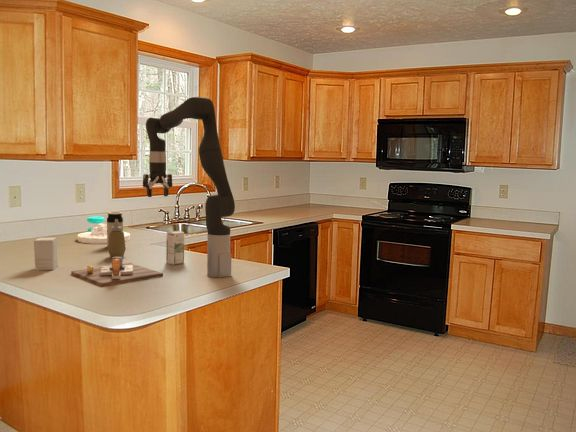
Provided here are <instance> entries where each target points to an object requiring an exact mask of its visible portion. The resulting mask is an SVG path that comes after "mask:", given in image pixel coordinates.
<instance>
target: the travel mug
mask: <svg viewBox="0 0 576 432" xmlns="http://www.w3.org/2000/svg"><path fill="white" fill-rule="evenodd" d="M115 219H118V222H119V226H120V227H122V230H121V231H123V232H124V218H123V211H109V212H107V218H106V225H107V244H106V245H107V247H108V242H109V233H110V232H111V231H112V230H111V227H114V222H115Z"/></svg>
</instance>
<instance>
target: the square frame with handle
mask: <svg viewBox="0 0 576 432" xmlns="http://www.w3.org/2000/svg"><path fill="white" fill-rule="evenodd" d="M101 267H102V269H101V272H100V275H112V279H120V277H121V275H128V274H133V265H122V270H119V259H113V270H112V265H102V266H101Z"/></svg>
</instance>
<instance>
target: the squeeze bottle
mask: <svg viewBox="0 0 576 432" xmlns="http://www.w3.org/2000/svg"><path fill="white" fill-rule="evenodd" d="M111 230H112V231H111V232H110V233H109V242H108V246H107V251H108V254H109V257H110V258H112V257H122V258H124V255H125V253H126V241H125V239H124V232H125V231H124V230H123V231H121V230H122V227H120V226H119V222H118V219H115V222H114V227H111Z"/></svg>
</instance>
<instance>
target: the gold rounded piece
mask: <svg viewBox="0 0 576 432" xmlns="http://www.w3.org/2000/svg"><path fill="white" fill-rule="evenodd" d="M93 268H94V266H93V265H87V267H86V269H87V274H93Z"/></svg>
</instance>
